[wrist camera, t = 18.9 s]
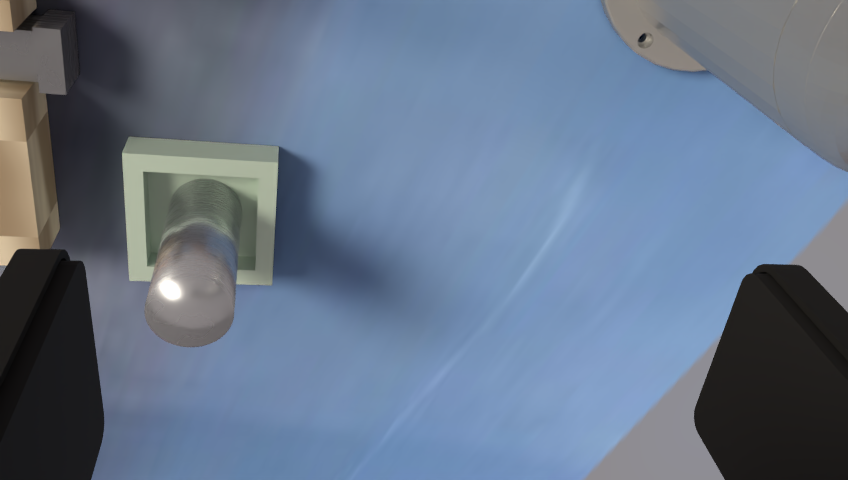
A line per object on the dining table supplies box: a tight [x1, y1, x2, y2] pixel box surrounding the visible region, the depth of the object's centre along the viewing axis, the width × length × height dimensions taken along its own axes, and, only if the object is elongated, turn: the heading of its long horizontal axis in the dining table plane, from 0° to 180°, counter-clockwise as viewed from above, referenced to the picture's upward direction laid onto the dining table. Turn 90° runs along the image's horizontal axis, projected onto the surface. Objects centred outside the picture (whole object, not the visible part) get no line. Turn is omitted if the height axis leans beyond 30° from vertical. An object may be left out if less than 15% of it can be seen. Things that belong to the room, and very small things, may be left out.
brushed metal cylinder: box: [145, 179, 242, 347], centre depth 42 cm, size 4×4×10 cm
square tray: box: [122, 137, 279, 285], centre depth 46 cm, size 8×8×2 cm
